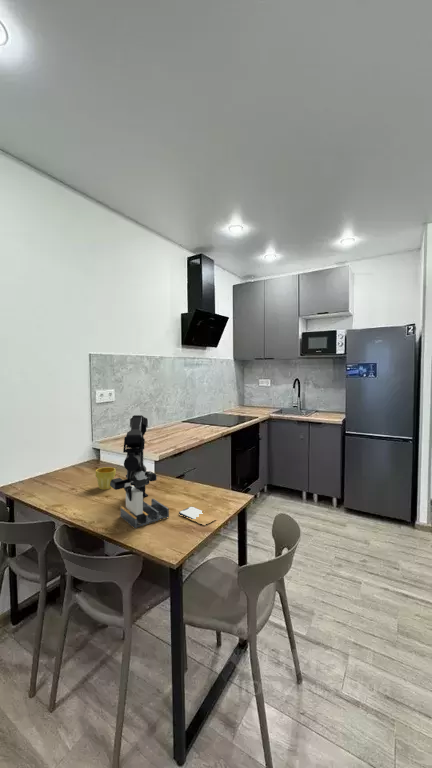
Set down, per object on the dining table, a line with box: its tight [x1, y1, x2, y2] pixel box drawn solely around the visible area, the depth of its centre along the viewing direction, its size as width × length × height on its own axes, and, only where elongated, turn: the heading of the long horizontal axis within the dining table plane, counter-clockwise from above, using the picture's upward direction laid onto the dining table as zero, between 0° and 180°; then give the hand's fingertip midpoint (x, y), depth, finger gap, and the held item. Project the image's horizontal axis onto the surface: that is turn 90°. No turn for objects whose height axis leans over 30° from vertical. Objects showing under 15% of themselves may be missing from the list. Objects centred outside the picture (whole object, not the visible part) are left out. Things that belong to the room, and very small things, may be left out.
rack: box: [119, 498, 170, 529], centre depth 139 cm, size 14×16×4 cm
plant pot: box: [95, 466, 117, 491], centre depth 173 cm, size 10×10×10 cm
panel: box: [125, 485, 144, 515], centre depth 135 cm, size 10×3×9 cm, turn 40°
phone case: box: [178, 506, 203, 519], centre depth 140 cm, size 9×2×16 cm
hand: (134, 499), depth 135 cm, fingers closed on panel, 3 cm apart
